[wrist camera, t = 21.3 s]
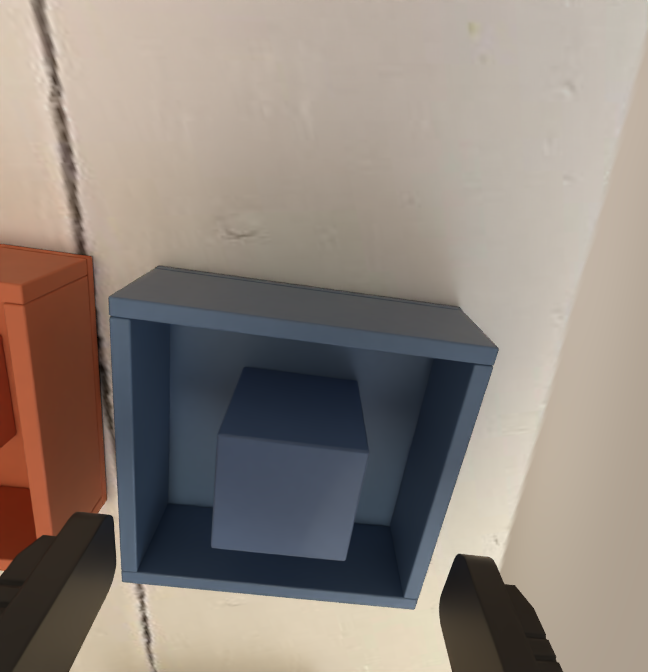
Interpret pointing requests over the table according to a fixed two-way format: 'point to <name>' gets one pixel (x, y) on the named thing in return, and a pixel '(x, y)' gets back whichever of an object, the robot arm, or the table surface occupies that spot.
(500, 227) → the table surface
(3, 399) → the terracotta block
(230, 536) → the blue block
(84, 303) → the terracotta bin
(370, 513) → the blue bin
